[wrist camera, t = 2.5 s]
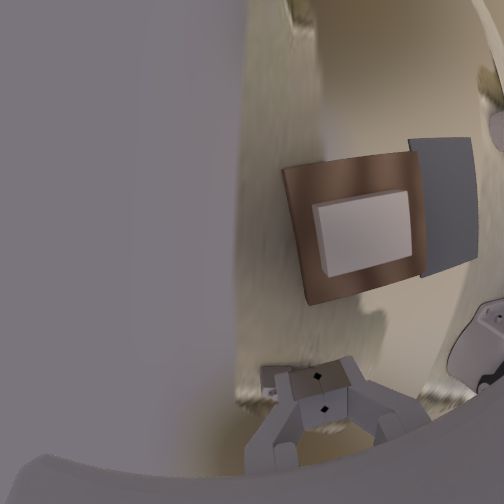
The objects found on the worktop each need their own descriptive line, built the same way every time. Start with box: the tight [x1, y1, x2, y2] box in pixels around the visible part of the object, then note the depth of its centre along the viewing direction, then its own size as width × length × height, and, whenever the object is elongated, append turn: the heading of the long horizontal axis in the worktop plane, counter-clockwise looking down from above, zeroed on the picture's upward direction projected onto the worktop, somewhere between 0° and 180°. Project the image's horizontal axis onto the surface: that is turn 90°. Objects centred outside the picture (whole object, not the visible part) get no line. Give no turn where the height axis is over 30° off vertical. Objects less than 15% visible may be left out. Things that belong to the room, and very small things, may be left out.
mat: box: [408, 137, 478, 278], centre depth 29 cm, size 12×18×1 cm
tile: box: [312, 189, 412, 278], centre depth 26 cm, size 10×7×2 cm
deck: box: [282, 151, 427, 306], centre depth 29 cm, size 16×15×2 cm
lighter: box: [260, 366, 292, 400], centre depth 31 cm, size 7×2×8 cm, turn 87°
